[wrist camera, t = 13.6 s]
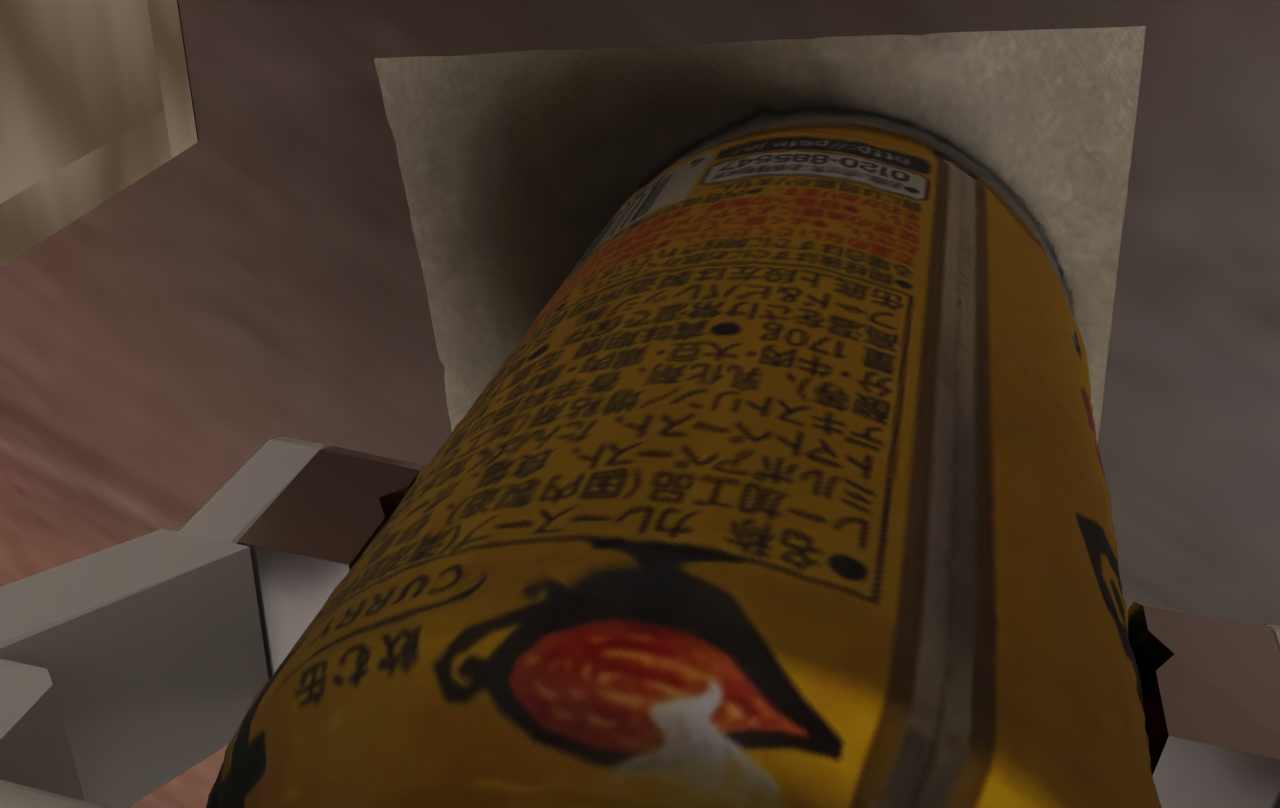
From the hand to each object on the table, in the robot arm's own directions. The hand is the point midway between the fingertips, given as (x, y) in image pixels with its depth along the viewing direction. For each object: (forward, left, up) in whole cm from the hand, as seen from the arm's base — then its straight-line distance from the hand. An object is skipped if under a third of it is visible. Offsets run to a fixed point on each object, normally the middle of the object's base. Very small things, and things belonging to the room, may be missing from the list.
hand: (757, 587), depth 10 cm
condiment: (0, +1, -5) cm, 5 cm away
